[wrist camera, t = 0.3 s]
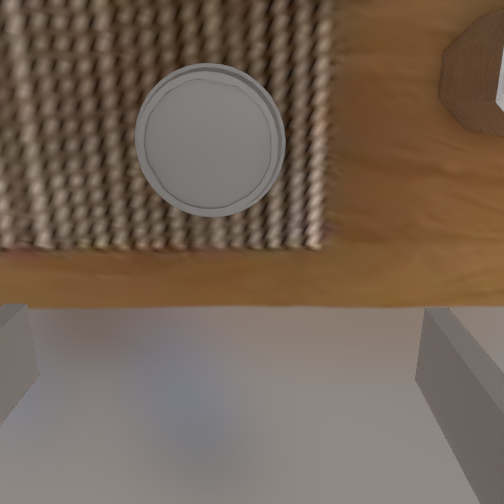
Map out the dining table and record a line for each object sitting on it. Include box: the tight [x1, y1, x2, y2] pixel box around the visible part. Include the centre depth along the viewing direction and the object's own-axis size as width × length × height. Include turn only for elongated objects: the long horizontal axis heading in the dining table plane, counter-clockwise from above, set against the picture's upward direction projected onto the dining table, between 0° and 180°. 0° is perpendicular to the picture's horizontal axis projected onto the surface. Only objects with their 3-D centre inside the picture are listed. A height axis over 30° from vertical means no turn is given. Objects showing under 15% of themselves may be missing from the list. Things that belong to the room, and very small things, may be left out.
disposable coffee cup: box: [135, 63, 286, 217], centre depth 34 cm, size 10×10×12 cm
